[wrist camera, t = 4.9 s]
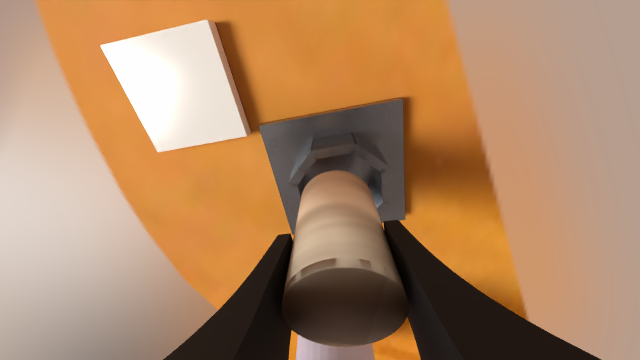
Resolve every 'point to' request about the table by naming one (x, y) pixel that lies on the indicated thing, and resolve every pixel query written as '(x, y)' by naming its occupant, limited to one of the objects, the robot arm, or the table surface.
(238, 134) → the tile pad
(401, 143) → the housing
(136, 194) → the table surface
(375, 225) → the tan cylinder
